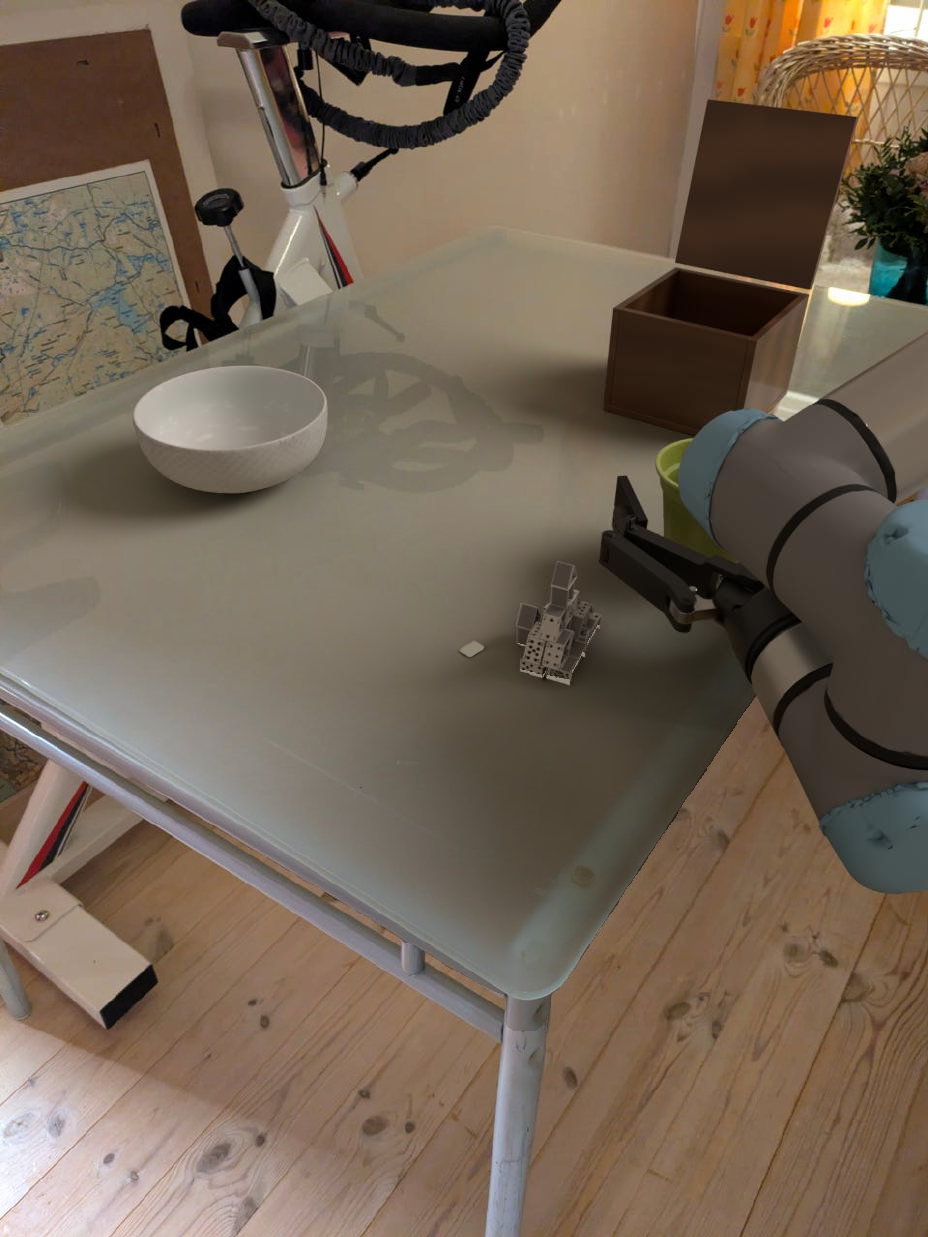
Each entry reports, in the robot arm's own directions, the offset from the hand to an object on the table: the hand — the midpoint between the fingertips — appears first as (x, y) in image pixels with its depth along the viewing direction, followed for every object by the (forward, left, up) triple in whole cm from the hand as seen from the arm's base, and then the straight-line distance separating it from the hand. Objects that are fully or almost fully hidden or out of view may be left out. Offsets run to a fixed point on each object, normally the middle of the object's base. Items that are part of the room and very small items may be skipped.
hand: (703, 485), depth 76 cm
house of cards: (+5, +17, -6) cm, 19 cm away
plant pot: (-1, +1, -6) cm, 6 cm away
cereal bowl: (+40, +12, -6) cm, 42 cm away
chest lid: (+11, -34, +13) cm, 38 cm away
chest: (+11, -26, -6) cm, 28 cm away
